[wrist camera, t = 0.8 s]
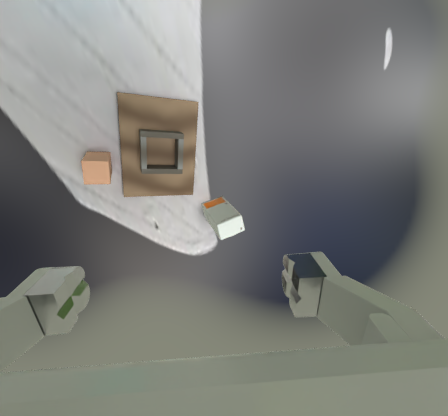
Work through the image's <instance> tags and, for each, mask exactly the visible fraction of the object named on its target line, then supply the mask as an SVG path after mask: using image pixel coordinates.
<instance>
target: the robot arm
mask: <svg viewBox="0 0 448 416" xmlns="http://www.w3.org/2000/svg"><path fill="white" fill-rule="evenodd" d="M283 264H284V267H285V270H284V271H283V272H282V284H283V289H284V292H285V295H286V296H287V297H289V298H290V301H289V304H290V307H291V309H292V311H293V314H294V316H295V317H313V316H317V318H319V319H320V320H321V321H322V322H323V323H324V324H325V325H327V326H328V327H329V328H330V329H331V330H333V331H334V332H335V333H336V334H337V335H339V336H340V337H341V338H342V339H343V340H344V341H346V342H347V343H348V344H349V345H350V346H340V347H327V348H314V349H302V350H291V351H290V350H289V351H278V352H264V353H250V354H236V355H223V356H210V357H196V358H184V359H171V360H159V361H145V362H132V363H119V364H106V365H94V366H80V367H69V368H68V367H67V368H54V369H41V370H28V371H15V372H3V373H1V372H2V371H3V370H4V369H5V368H7V367H8V366H9V365H10V364H12V363H13V362H14V361H15V360H16V359H17V358H19V357H20V356H21V355H23V354H24V353H25V352H26V351H28V350H29V349H30V348H31V347H32V346H34V345H35V344H36V343H37V342H38V341H40V340H41V339H42V338H44V336H46V335H56V334H66V333H69V332H70V331H71V329H72V328H73V326H74V324H75V323H76V321H77V320H78V313H79V312H80V311H82V310H83V309H84V308H85V307H86V305H87V304H88V301H89V297H90V289H89V285H88V284H87V283H86V282H85V281H84V280H83V279H84V277H85V273H84V270H83V268H81V267H80V266H77V267H54V268H51V267H50V268H40V269H37V270H36V271H34V272H33V273H32V274H31V275H30V276H29V277H28V278H27V279H26V280H24V281H23V282H22V283H21V284H20V285H19V286H18V287H17V288H16V289H15V290H14V291H12V293H10V294H9V295H8V296H7V297H4V298H0V416H448V338H444V337H443V336H442V335H441V334H440V333H439V332H438V331H436V329H435V328H434V327H432V326H431V325H430V324H429V323H428V322H427V321H426V320H425V319H424V318H423V317H422V316H421V315H420V314H419V313H418V312H417V311H416V310H414V309H412V308H410V307H408V306H406V305H404V304H402V303H400V302H398V301H396V300H394V299H391V298H390V297H387V296H386V295H384V294H382V293H380V292H378V291H375V290H373V289H371V288H369V287H367V286H365V285H363V284H361V283H359V282H357V281H355V280H353V279H351V278H348V277H347V276H341V275H340V273H339V272H338V271H337V270H336V268H335V267H334V266H333V265H332V264H331V262H330V261H329V260H328V259H327V257H326V256H325V255H324V254H323V253H322V252H311V253H302V254H290V255H289V254H288V255H284V258H283Z"/></svg>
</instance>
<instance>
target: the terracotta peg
mask: <svg viewBox="0 0 448 416" xmlns="http://www.w3.org/2000/svg"><path fill="white" fill-rule="evenodd" d="M81 163H82V171H83V178H84V184H110V183H111V174H112V168H111V156H110V152H88V151H87V153H86V154H85V156H84V157H83V159H82V161H81Z"/></svg>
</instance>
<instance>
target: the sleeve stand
mask: <svg viewBox="0 0 448 416" xmlns="http://www.w3.org/2000/svg"><path fill="white" fill-rule="evenodd" d="M117 97H118V113H119V128H120V144H121V159H122V175H123V191H124V197H136V196H166V195H193V185H194V168H195V151H196V134H197V117H198V102H194V101H185V100H177V99H169V98H161V97H153V96H144V95H136V94H128V93H120V92H117Z"/></svg>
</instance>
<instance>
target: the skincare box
mask: <svg viewBox="0 0 448 416" xmlns="http://www.w3.org/2000/svg"><path fill="white" fill-rule="evenodd" d="M202 208H203V211H204V215H205V218H206V219H207V221H208V222H209V224H210V225H211V226H212V228H213V229H214V231H215V232H216V234H217V235H218V237H219V238H220V240H223V239H225V238H227V237H230V236H233V235H235V234H237V233H239V232H241V231H244V230H245V229H244V224H243V220H242V215H241V214H240V213H239V212H238V211H237V210H236V209H235V208H234V207H233V206H232V205H230V203H229V202H228V201H227V200H226V199H225V198H224V197H223V196H221V197H219V198H216V199H213V200H211V201H208V202H205V203H202Z"/></svg>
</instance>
